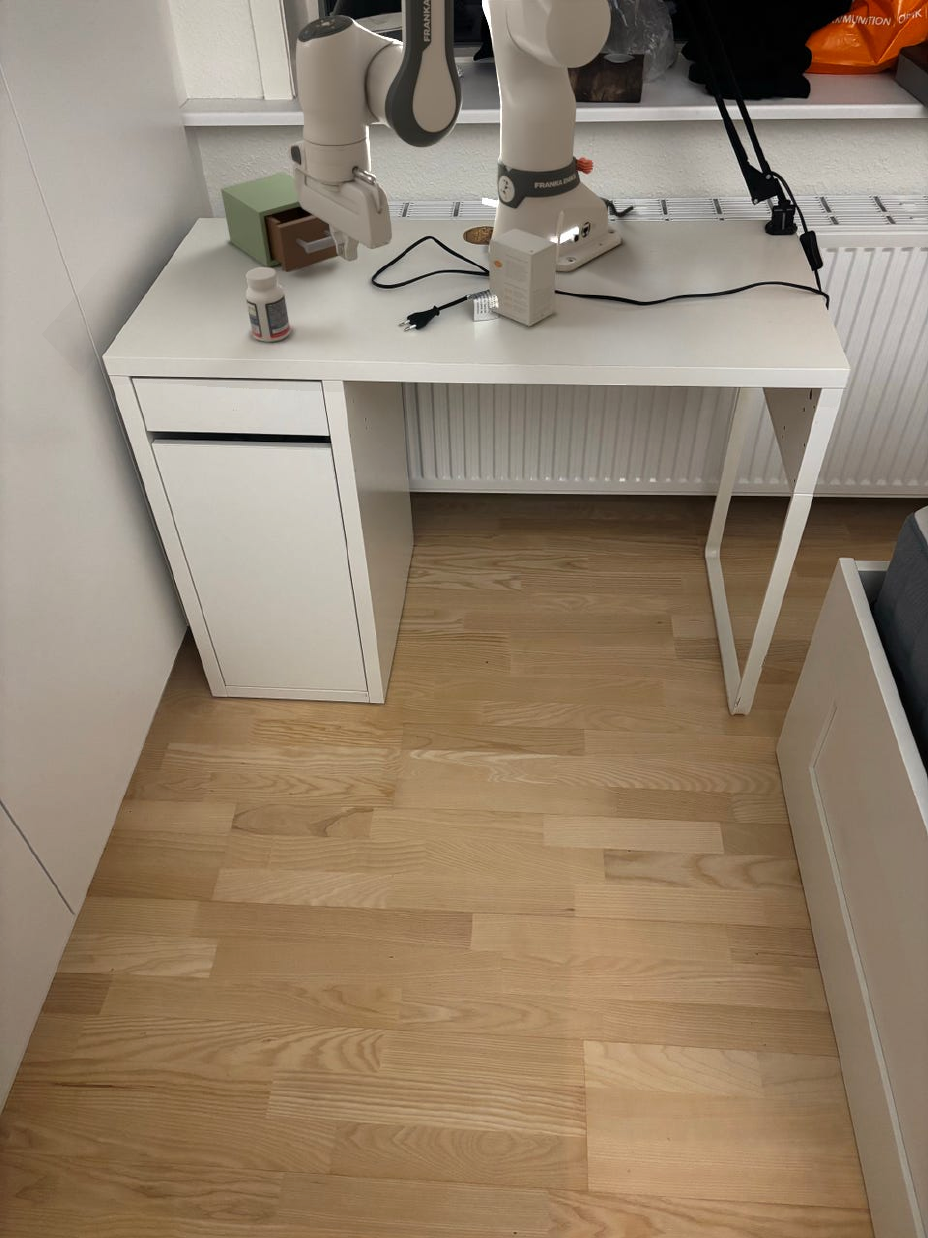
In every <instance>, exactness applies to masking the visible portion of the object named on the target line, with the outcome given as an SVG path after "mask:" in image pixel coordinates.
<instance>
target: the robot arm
mask: <svg viewBox="0 0 928 1238" xmlns="http://www.w3.org/2000/svg"><path fill="white" fill-rule="evenodd" d="M608 1H609V0H482V1H481V2H482V9H483V12H484V15H485V17H486V20H487V23H488V26H489V30H490V37H491V43H492V51H493V56H494V57H493V58H494V64H495V69H496V76H497V82H498V83H497V84H498V91H499V99H500V145H499V146H500V151H499V153H500V155H499V156H498V158H497V163H496V186H497V187H496V188H497V195H498V196H497V200H494V199H490V198H485V197H483V198H482V204H483V205H488V206H491V207H496V210H495V216H494V223H493V229H492V234H491V237H490V238H491V239H492V238H495V237H497V236H499V235H501V234H504V233H506V232H508V231H510V230H513V229H518V230H521V231H524V232H527V233H530V234H533V235H536V236H539V237H542V238H544V239H547V240H550V241H553V242H556V243H557V252H556V271H560V272H571V271H574V270H575V269H577V268H579V267H581V266H582V265H585V264H586V263H588V262H590V261H591V260H594V259H595V258H597V257H599V256H601V255H603V254H604V253H606V252H608V251H610V250H611V249H613V248H615V247H617V246H618V245H620V244H621V243H622V236H621V235H620V233H619V232H618V231H617V230H616V229H614V228H613V227H612V226H610V225H609V208H610V209H611V213H612V214H613V215H614V216H615V217H618V218H620V217H623V216H625V215H627V214H629V213H630V212H632V211H633V210H635V206H633V205H631V206H628V207H627V208H625V209H623V210H622V211H617V208H616V206H615V204H614V203H612V202H611V201H610V200H609V199H608V198H604V197H601V196H599V195H597V194H596V193H595V192H594V191H593V190H592V189H590V187H588V186H587V185H586V184H584V182H582V181H581V178H580V174H579V172H582V173H583V174H585V175H589V174H591V173H592V171H593V169H594V162H593V160H591V159H588V158H585V157H580V158H579V159H578V158H577V157H576V156H574V147H575V136H576V135H575V134H576V119H577V118H576V117H577V100H576V96H575V93H574V91H573V88H572V84H571V81H570V76H569V71H568V68H569V69H572V68H573V69H575V68H579V67H580V68H581V67H583V66H585V65H587V64H589V63H590V62H592V61H593V60H594V59H595V58H596V57H597V56H598V55H599V53H601V51H602V49H603V48H604V46H605V45H606V42H607V40H608V37H609V33H610V29H611V24H612V23H611V21H612V20H611V19H612V14H611V8H610V5H609V4H610V3H609V2H608ZM401 24H402V25H401V26H402V27H401V30H402V31H401V32H402V34H401V35H402V41H401V40H400V41H399V40H398V39H394V38H391V37H387V36H386V37H385V36H382V35H379V34H377V33H375V32H372V31H370V30H369V29H367V28H365V27H363V26H362V25H360V24H358V23H357V22H356V21H355V20H354V18H351V16H348V15H347V16H346V15H341V14H340V15H338V14H337V15H327V16H324V17H323V16H322V17H320V18H317V19H315V20H313V21H310V22H308V23H307V24H306V25H305V26H304V27H302V29H301V30H300V32H299V33H298V36H297V39H296V45H295V69H296V84H297V85H296V86H297V94H298V102H299V105H300V107H301V110H302V115H303V128H302V139H303V140H299V141H296V142H293V143H289V144H288V147H287V151H288V156H289V159H290V161H292V162H293V163H292V175H293V176H292V177H293V178H294V183H295V189H296V195H297V199H298V201H299V203H300V205H301V207H302V208H303V209H304V210H306V211H308V212H309V213H311V214H313V215H314V216H316V217H318V218H319V219H321V220H323V221H324V222H326V223H328V224H329V227H330V232H331V234H332V237H333V239H334V241H335V243H336V251H337V254H338V255H339V256H338V257H340V258H343V259H344V260H345V261H347V262H353V261H356V260H357V259H358V246H359V244H361V245H363V246H365V247H366V248H368V249H370V250H373V249H377V248H381V247H384V246H388V245H389V244H390V243H391V242H392V238H393V228H392V227H393V226H392V218H391V212H390V206H389V201H388V197H387V194H386V192H385V190H384V188H383V187H382V186H381V185H380V184H379V182H378V179H377V177H376V175H374V174H372V173H371V170H372V163H371V162H372V161H371V149H370V134H369V128H370V126H371V125H372V124H375V123H382V124H383V125H385V126H386V127H387V128H389V129H391V130H392V132H393V133H395V134H396V135H397V136H398V137H399V138H400V139H401V140H402V141H403V142H404V143H405V144H407V145H410V146H412V147H415V148H428V147H432V146H434V145H437V144H438V143H440V142H442V141H443V140H445V138H446V137H448V135H449V134H450V133H451V132H452V131H453V129H454V128H455V126H456V124H457V123H458V120H459V118H460V115H461V112H462V108H463V107H462V106H463V89H462V84H461V83H462V82H461V80H460V76H459V72H458V68H457V64H456V59H455V58H456V57H455V48H454V43H455V42H454V0H401ZM489 248H490V245H489V246H488V248H487V252H488V253H489V252H490V250H489Z"/></svg>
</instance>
